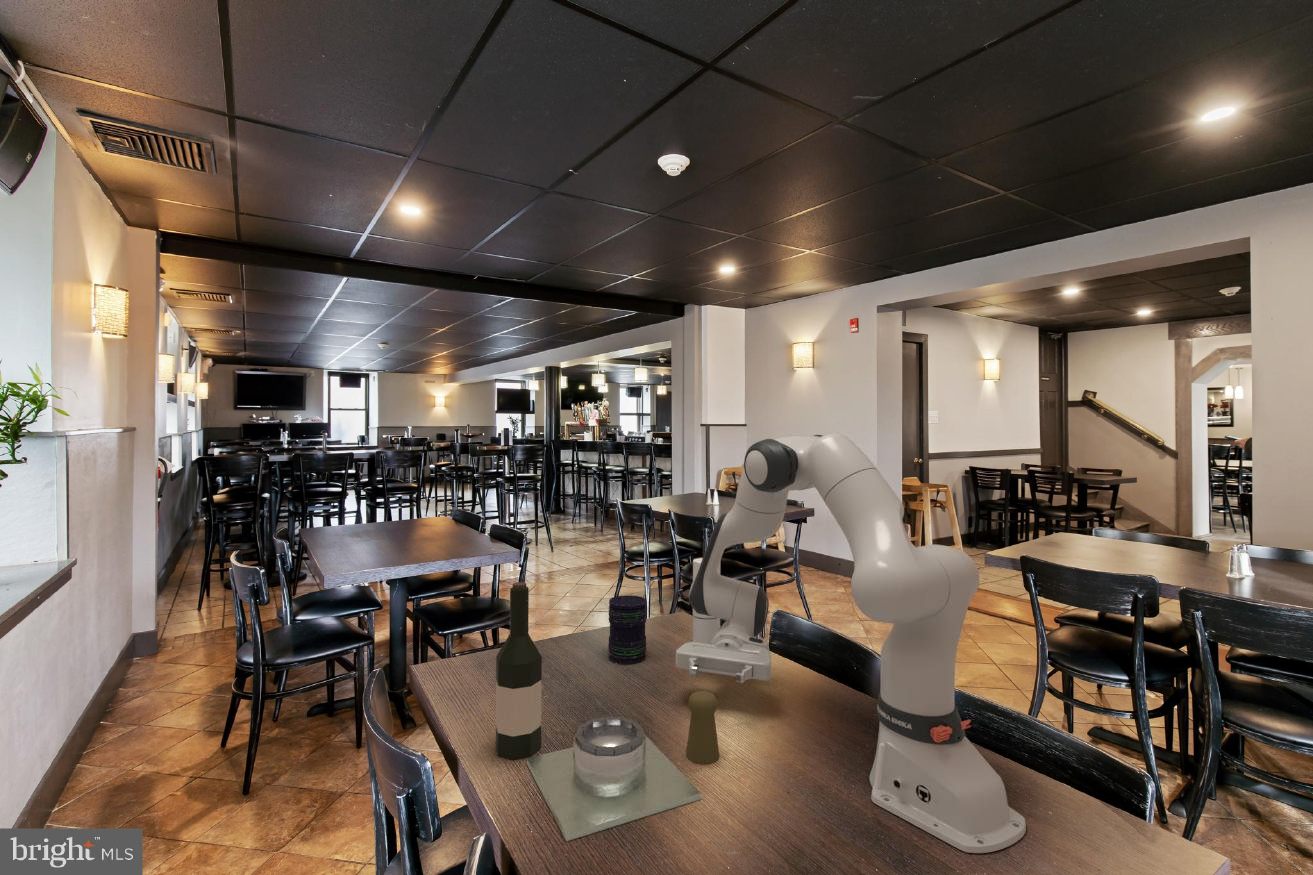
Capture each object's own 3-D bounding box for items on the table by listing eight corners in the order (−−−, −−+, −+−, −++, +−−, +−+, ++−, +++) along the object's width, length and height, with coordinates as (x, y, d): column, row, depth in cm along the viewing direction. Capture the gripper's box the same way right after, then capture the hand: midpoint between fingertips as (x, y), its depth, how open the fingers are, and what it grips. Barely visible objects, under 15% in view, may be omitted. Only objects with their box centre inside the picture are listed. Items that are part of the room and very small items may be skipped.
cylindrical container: (724, 654, 155) (725, 560, 155) (712, 663, 149) (712, 564, 149) (700, 649, 159) (701, 557, 159) (687, 657, 152) (688, 561, 153)
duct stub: (700, 799, 92) (701, 748, 92) (566, 841, 82) (566, 784, 82) (641, 735, 112) (641, 693, 112) (526, 763, 102) (527, 717, 102)
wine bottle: (525, 731, 113) (526, 576, 113) (550, 748, 107) (551, 583, 107) (486, 747, 107) (487, 583, 108) (510, 765, 101) (511, 592, 102)
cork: (717, 766, 102) (718, 702, 102) (683, 762, 103) (683, 699, 103) (721, 748, 108) (721, 688, 108) (688, 744, 109) (688, 685, 109)
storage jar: (654, 657, 153) (654, 600, 153) (627, 668, 145) (628, 607, 145) (626, 648, 159) (627, 593, 159) (600, 658, 152) (600, 600, 152)
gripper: (684, 631, 134) (666, 652, 120) (775, 642, 127) (767, 666, 114) (684, 658, 134) (666, 683, 120) (775, 671, 127) (766, 698, 114)
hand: (716, 675), depth 117 cm, fingers open, 8 cm apart
